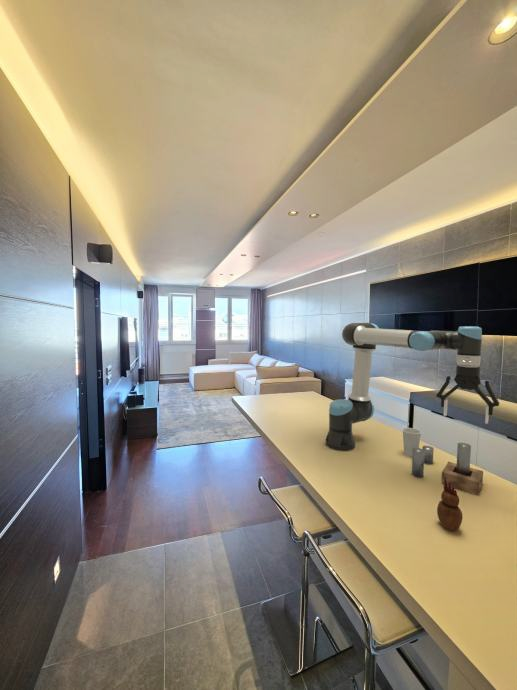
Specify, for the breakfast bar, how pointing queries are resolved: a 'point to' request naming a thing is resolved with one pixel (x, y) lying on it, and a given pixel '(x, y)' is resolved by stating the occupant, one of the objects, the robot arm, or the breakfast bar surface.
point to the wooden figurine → (449, 508)
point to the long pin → (463, 459)
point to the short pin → (428, 454)
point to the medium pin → (418, 462)
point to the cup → (410, 440)
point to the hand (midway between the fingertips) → (465, 419)
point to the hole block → (463, 479)
